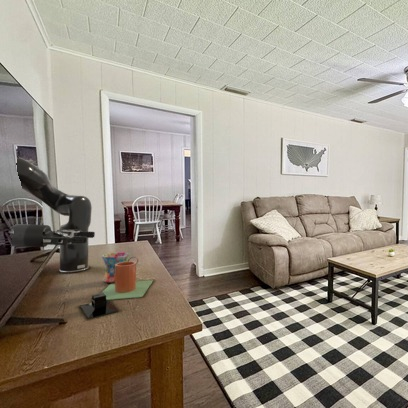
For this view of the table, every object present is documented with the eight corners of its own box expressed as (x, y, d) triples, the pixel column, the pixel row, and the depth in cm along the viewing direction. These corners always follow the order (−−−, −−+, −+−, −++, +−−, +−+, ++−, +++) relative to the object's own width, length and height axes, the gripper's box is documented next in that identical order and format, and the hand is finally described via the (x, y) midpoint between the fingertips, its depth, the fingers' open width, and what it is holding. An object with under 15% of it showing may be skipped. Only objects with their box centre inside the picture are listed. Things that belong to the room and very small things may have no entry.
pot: (118, 287, 107) (118, 261, 106) (137, 286, 109) (137, 261, 109) (112, 293, 101) (112, 266, 100) (133, 292, 103) (133, 265, 103)
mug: (99, 285, 108) (99, 258, 107) (103, 279, 115) (103, 253, 115) (137, 281, 114) (138, 255, 114) (138, 275, 122) (139, 251, 122)
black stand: (80, 306, 91) (80, 292, 91) (108, 300, 97) (108, 287, 96) (88, 319, 83) (88, 303, 83) (119, 311, 89) (119, 297, 89)
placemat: (111, 283, 111) (111, 282, 111) (153, 280, 117) (153, 280, 117) (92, 301, 95) (92, 300, 95) (142, 297, 100) (142, 296, 100)
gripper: (17, 228, 88) (85, 231, 95) (38, 220, 100) (97, 223, 108) (15, 252, 88) (83, 252, 96) (37, 241, 100) (95, 242, 108)
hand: (90, 237), depth 102 cm, fingers open, 8 cm apart
